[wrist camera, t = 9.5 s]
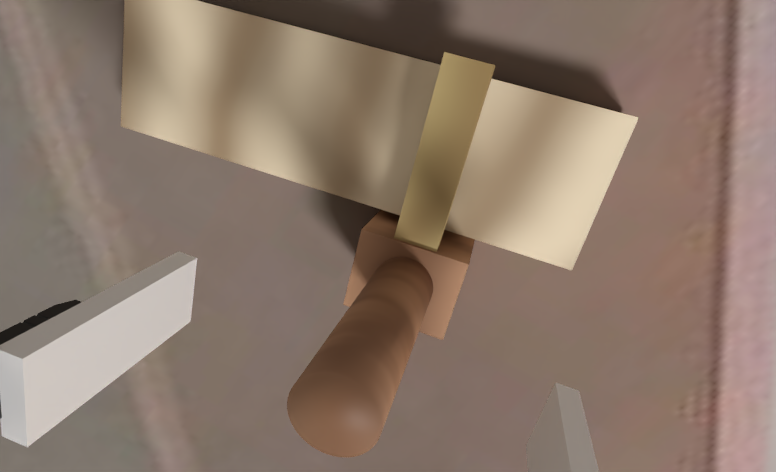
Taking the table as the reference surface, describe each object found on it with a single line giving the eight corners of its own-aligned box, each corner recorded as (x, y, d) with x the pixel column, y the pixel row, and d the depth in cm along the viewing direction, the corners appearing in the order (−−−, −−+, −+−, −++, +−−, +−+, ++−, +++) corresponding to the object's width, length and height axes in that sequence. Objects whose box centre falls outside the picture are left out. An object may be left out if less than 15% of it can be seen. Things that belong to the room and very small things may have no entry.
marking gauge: (367, 272, 26) (244, 436, 14) (424, 48, 22) (317, 8, 10) (452, 302, 25) (400, 501, 13) (529, 76, 21) (555, 68, 9)
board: (147, 123, 26) (120, 126, 25) (154, -11, 24) (125, -19, 22) (566, 255, 23) (571, 270, 21) (627, 114, 20) (638, 117, 19)
